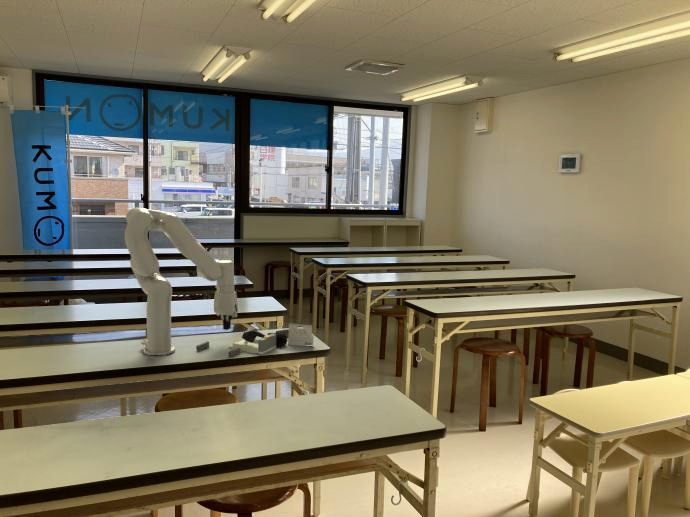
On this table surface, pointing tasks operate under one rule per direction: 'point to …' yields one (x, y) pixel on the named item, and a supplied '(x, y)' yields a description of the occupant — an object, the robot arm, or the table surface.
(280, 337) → the webcam
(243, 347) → the port dock
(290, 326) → the ink cartridge box
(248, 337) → the power plug
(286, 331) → the phone
